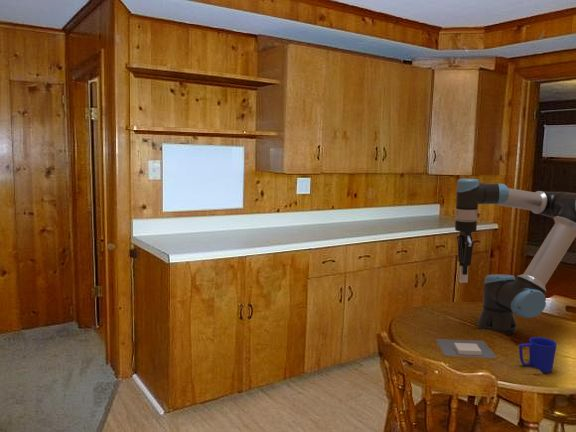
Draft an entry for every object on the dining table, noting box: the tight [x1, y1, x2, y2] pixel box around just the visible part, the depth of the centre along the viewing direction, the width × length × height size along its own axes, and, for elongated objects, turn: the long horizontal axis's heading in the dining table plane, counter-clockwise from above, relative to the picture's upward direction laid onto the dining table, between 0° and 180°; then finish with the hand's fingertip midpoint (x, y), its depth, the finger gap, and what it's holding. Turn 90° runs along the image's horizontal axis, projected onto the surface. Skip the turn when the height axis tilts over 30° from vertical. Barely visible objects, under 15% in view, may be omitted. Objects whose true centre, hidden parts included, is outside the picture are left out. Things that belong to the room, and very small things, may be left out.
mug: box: [518, 336, 557, 374], centre depth 164 cm, size 8×12×10 cm
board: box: [435, 338, 498, 359], centre depth 179 cm, size 18×16×2 cm
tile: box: [454, 343, 482, 356], centre depth 175 cm, size 8×2×7 cm
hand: (463, 282), depth 183 cm, fingers closed
